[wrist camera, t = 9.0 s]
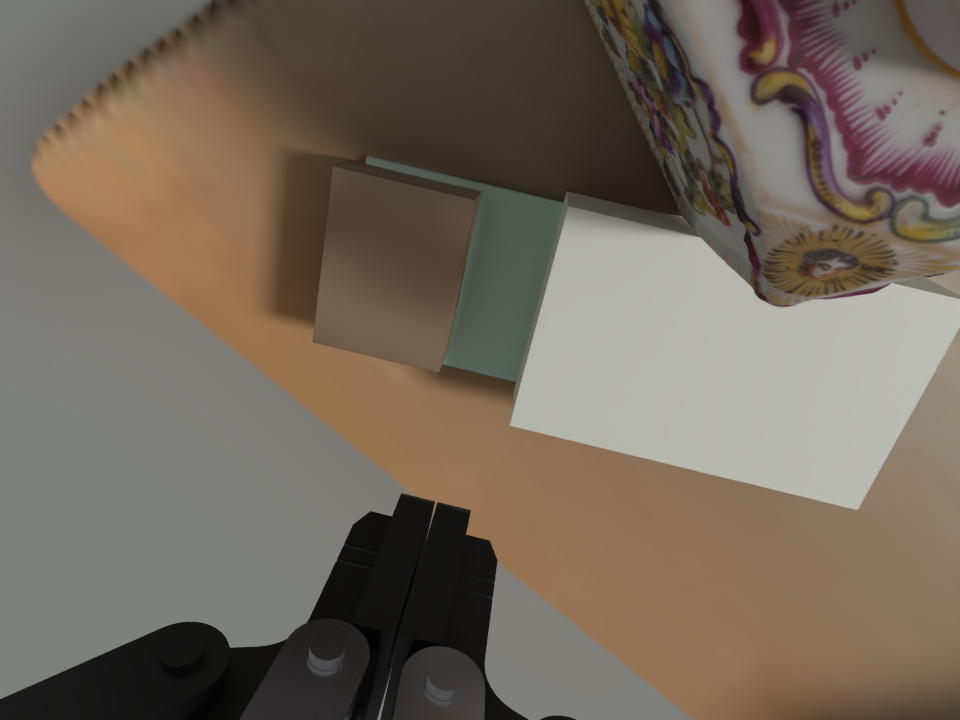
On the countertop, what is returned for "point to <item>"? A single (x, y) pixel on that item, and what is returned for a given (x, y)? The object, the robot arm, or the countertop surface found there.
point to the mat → (497, 274)
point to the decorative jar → (802, 133)
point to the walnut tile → (393, 264)
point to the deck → (720, 359)
